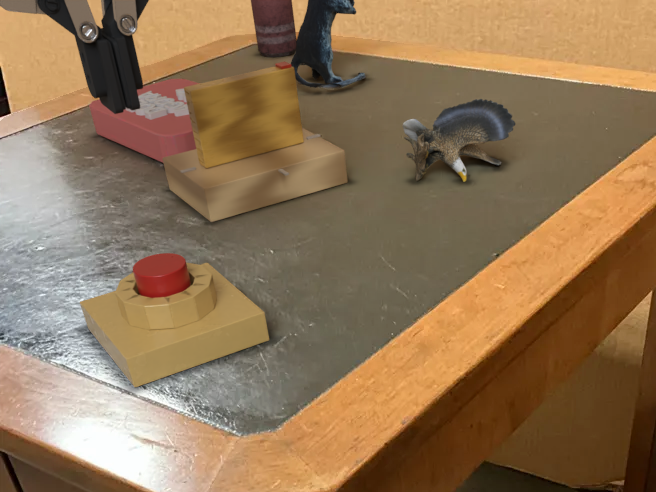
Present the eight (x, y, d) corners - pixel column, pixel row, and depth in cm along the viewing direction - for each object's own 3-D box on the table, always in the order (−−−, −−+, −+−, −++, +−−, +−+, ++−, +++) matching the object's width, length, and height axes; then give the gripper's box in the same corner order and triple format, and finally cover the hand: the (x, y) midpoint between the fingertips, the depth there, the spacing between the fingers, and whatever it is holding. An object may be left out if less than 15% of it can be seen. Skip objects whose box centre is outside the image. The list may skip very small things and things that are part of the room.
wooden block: (206, 168, 80) (189, 88, 76) (199, 164, 81) (182, 84, 77) (304, 142, 84) (294, 64, 80) (296, 138, 85) (286, 60, 81)
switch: (134, 388, 59) (118, 334, 57) (88, 329, 66) (71, 278, 63) (269, 340, 63) (260, 287, 60) (213, 288, 69) (202, 239, 67)
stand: (219, 230, 78) (212, 194, 76) (160, 183, 87) (152, 150, 85) (360, 189, 83) (357, 153, 81) (290, 148, 92) (286, 116, 90)
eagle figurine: (445, 188, 79) (529, 146, 80) (408, 108, 77) (495, 67, 79) (419, 208, 86) (496, 169, 88) (385, 136, 84) (465, 98, 86)
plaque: (289, 93, 93) (165, 132, 86) (295, 131, 96) (175, 172, 89) (197, 64, 103) (80, 97, 96) (204, 100, 106) (90, 134, 99)
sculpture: (386, 86, 106) (376, -65, 96) (296, 98, 105) (277, -54, 95) (373, 68, 112) (362, -76, 102) (288, 78, 111) (269, -66, 101)
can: (259, 48, 122) (244, -56, 114) (299, 45, 122) (286, -59, 114) (255, 58, 118) (238, -49, 110) (295, 56, 118) (282, -52, 110)
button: (149, 305, 60) (143, 281, 59) (131, 286, 63) (124, 262, 61) (199, 289, 62) (193, 265, 60) (179, 271, 64) (174, 248, 63)
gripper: (144, -300, 48) (208, 69, 61) (-153, -288, 43) (-16, 116, 55) (197, -307, 44) (255, 96, 56) (-130, -293, 38) (14, 150, 51)
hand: (120, 105), depth 56 cm, fingers closed
